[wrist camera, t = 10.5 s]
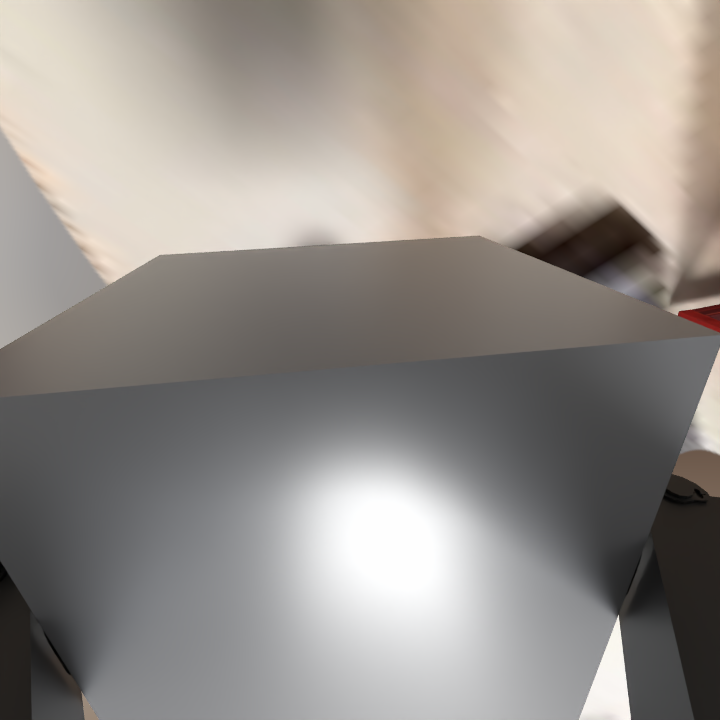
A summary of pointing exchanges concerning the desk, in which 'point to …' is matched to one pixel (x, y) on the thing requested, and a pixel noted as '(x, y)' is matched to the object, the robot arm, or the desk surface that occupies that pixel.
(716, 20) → the desk surface
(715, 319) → the mug
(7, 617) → the robot arm
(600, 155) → the desk surface
